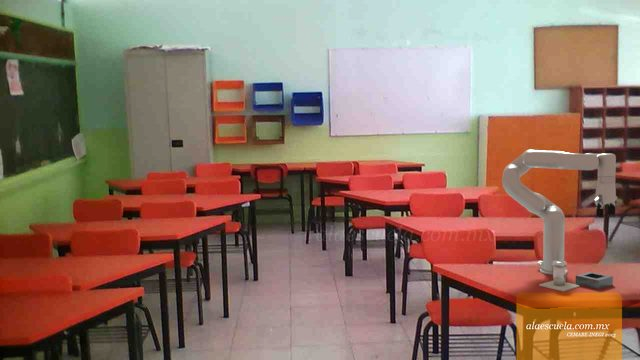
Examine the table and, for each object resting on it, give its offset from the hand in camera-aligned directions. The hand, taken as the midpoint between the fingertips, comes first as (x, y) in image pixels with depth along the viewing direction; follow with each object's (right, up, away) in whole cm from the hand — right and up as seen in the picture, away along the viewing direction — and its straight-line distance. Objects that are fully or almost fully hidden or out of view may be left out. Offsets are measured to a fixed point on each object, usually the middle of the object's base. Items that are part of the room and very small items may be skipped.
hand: (605, 215), depth 282 cm
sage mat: (-28, -31, -15) cm, 44 cm away
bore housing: (-12, -30, -14) cm, 35 cm away
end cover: (-28, -30, -15) cm, 44 cm away
